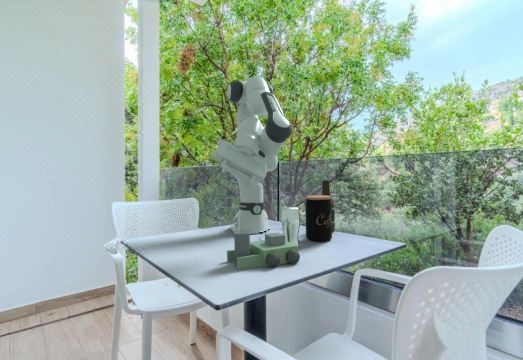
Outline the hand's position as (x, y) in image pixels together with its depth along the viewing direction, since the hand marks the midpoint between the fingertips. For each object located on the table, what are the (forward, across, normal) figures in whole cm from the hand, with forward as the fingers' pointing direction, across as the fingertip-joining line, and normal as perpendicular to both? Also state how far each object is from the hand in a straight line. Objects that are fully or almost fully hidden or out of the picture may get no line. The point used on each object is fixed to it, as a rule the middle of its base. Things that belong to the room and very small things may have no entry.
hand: (236, 178), depth 107 cm
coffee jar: (0, +46, +11) cm, 47 cm away
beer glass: (+10, +31, +9) cm, 34 cm away
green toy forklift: (+23, +17, +4) cm, 29 cm away
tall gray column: (+26, +11, +5) cm, 28 cm away
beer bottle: (-12, +56, +19) cm, 61 cm away
